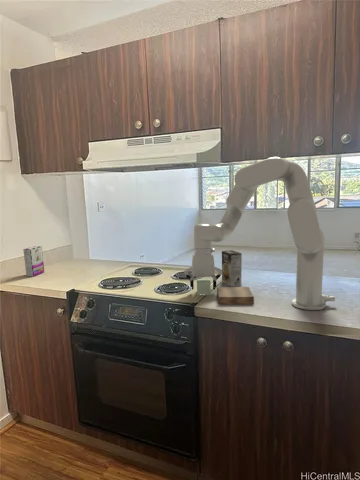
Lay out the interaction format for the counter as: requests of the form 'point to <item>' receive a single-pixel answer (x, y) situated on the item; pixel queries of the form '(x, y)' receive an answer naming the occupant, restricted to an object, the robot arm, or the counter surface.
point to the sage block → (203, 286)
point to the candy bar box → (33, 261)
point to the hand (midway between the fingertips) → (203, 288)
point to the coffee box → (231, 268)
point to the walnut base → (235, 295)
